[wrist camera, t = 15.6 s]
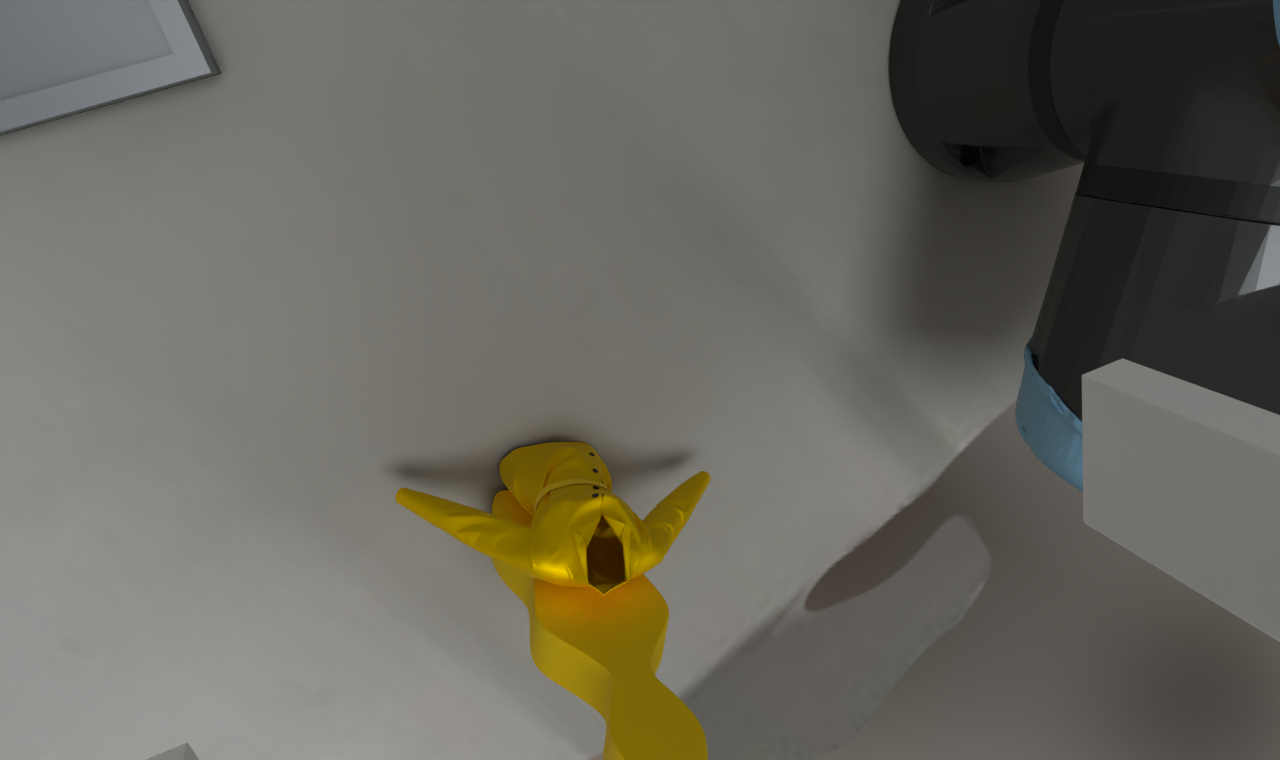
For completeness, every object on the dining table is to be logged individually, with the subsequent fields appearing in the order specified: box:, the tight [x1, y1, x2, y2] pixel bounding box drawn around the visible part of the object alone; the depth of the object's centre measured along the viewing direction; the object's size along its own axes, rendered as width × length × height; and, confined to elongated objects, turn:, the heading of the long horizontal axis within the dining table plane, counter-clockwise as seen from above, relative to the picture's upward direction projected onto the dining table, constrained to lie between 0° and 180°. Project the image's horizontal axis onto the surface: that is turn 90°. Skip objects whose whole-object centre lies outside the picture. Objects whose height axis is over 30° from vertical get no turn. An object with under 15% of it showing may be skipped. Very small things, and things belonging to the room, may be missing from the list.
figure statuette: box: [396, 442, 710, 760], centre depth 38 cm, size 18×8×22 cm, turn 84°
